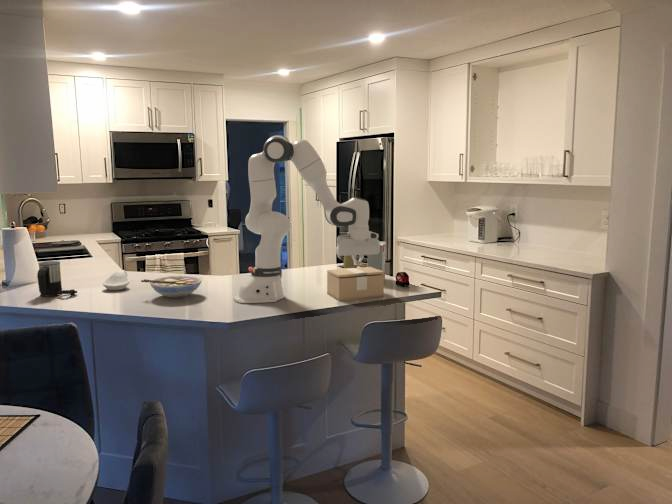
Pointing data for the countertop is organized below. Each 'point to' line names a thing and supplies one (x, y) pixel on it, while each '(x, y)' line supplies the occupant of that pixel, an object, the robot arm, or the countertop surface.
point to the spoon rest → (117, 281)
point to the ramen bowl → (175, 285)
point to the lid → (355, 272)
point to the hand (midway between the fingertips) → (357, 264)
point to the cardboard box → (355, 286)
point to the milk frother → (51, 279)
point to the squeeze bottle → (349, 262)
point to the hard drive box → (378, 258)
